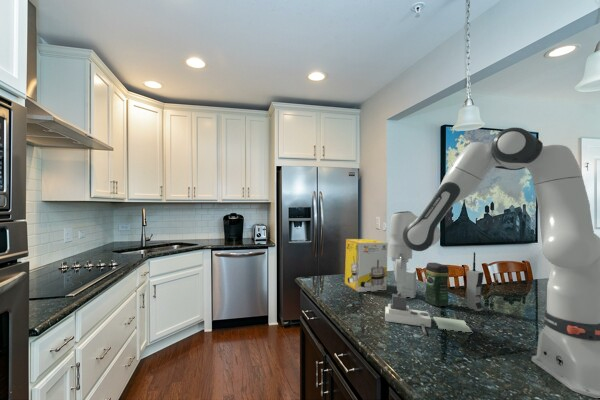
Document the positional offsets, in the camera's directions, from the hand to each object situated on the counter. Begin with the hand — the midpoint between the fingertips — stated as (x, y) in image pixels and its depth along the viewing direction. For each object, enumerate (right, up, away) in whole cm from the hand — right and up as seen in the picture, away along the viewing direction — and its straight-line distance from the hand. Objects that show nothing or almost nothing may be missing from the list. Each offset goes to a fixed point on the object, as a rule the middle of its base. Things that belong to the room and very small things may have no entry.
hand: (398, 287), depth 113 cm
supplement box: (+15, -14, +31) cm, 36 cm away
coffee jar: (+24, -14, +20) cm, 34 cm away
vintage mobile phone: (+38, -14, +14) cm, 43 cm away
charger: (0, -9, 0) cm, 9 cm away
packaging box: (-3, -13, +44) cm, 46 cm away
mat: (+18, -13, -5) cm, 23 cm away
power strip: (+2, -12, -5) cm, 13 cm away
